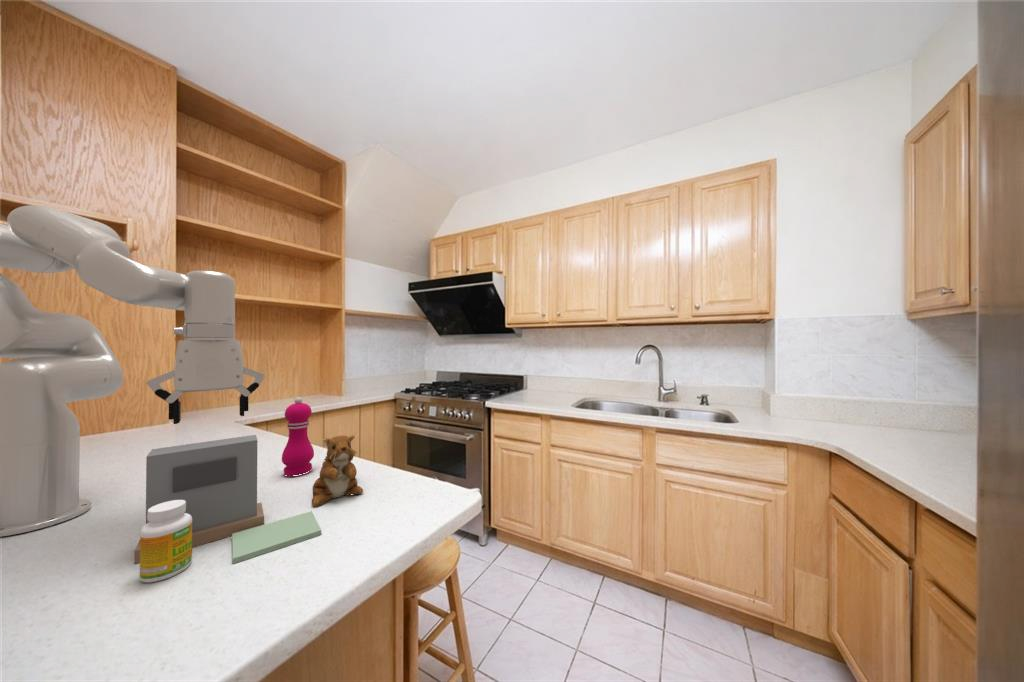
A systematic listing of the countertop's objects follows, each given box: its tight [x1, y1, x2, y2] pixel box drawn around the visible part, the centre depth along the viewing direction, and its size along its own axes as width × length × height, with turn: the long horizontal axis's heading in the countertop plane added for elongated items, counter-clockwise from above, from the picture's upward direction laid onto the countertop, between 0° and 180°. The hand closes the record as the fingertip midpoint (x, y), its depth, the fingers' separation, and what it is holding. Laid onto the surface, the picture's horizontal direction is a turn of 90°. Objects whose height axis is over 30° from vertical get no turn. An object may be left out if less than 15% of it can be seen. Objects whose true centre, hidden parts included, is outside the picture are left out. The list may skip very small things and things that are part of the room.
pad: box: [231, 510, 322, 565], centre depth 58 cm, size 12×9×1 cm
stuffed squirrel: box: [311, 434, 364, 507], centre depth 76 cm, size 10×14×13 cm
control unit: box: [133, 434, 265, 565], centre depth 59 cm, size 16×7×16 cm, turn 131°
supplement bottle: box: [139, 500, 193, 584], centre depth 49 cm, size 5×5×10 cm
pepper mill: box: [281, 396, 315, 476], centre depth 88 cm, size 7×7×20 cm
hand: (211, 418), depth 66 cm, fingers open, 9 cm apart
